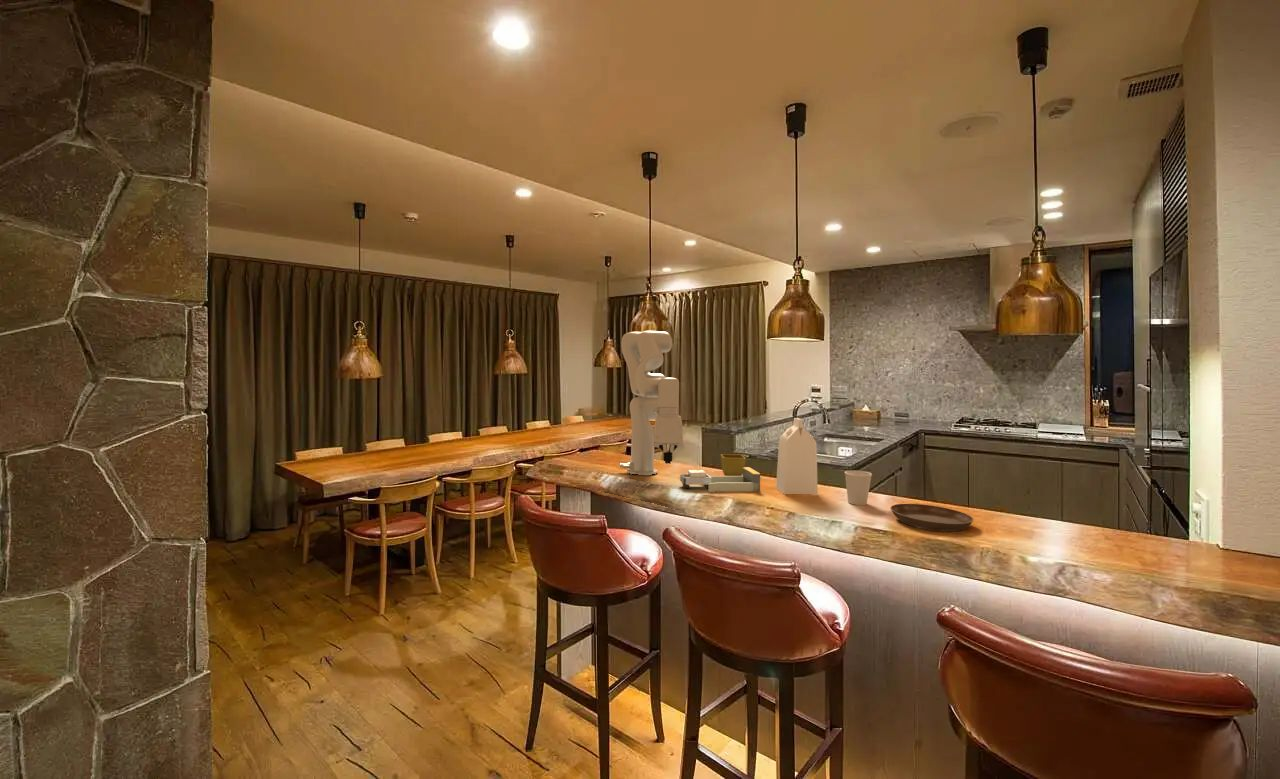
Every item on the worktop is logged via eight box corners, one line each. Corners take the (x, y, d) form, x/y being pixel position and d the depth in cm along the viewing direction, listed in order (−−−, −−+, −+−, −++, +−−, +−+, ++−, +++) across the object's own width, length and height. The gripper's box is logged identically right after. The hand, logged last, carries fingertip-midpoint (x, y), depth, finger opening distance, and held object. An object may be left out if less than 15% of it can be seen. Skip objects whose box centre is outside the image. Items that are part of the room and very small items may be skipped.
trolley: (683, 489, 187) (683, 473, 187) (680, 485, 194) (680, 469, 194) (711, 489, 188) (712, 473, 188) (707, 485, 195) (707, 469, 195)
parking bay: (708, 492, 184) (709, 474, 184) (699, 483, 199) (700, 466, 199) (760, 492, 186) (761, 474, 185) (747, 483, 201) (748, 466, 201)
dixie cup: (854, 506, 167) (855, 475, 166) (838, 500, 175) (839, 470, 175) (877, 505, 169) (878, 474, 169) (859, 499, 177) (860, 470, 177)
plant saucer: (979, 523, 151) (980, 512, 151) (964, 539, 135) (965, 526, 135) (901, 510, 164) (902, 500, 164) (880, 523, 149) (880, 511, 149)
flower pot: (745, 480, 205) (746, 458, 205) (722, 480, 206) (723, 457, 205) (741, 476, 214) (742, 454, 214) (719, 476, 214) (720, 454, 214)
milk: (817, 495, 182) (819, 420, 182) (784, 494, 183) (786, 419, 182) (807, 488, 194) (809, 417, 194) (776, 487, 195) (777, 417, 194)
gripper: (648, 412, 185) (648, 464, 185) (690, 412, 186) (690, 464, 186) (646, 411, 192) (645, 462, 192) (686, 411, 194) (686, 461, 194)
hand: (667, 463), depth 189 cm, fingers closed
